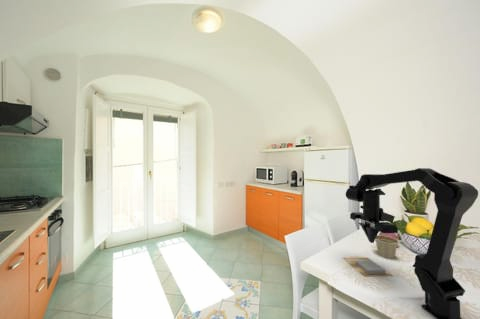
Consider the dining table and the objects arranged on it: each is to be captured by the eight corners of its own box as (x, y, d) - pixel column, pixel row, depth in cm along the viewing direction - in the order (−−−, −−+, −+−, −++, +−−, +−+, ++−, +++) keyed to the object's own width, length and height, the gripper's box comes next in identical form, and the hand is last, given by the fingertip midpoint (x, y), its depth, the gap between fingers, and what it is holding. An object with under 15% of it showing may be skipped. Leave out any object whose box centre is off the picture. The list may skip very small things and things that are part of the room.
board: (394, 278, 70) (394, 275, 70) (364, 279, 70) (364, 276, 70) (367, 259, 84) (367, 257, 84) (342, 260, 84) (342, 257, 84)
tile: (371, 264, 78) (385, 274, 71) (356, 264, 78) (368, 274, 71) (371, 260, 78) (385, 269, 71) (355, 260, 78) (368, 270, 71)
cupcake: (375, 243, 103) (375, 221, 103) (384, 240, 106) (384, 219, 106) (394, 249, 95) (393, 226, 95) (402, 246, 98) (402, 224, 99)
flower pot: (404, 263, 81) (404, 244, 82) (380, 261, 83) (380, 242, 83) (391, 253, 91) (391, 236, 91) (370, 251, 92) (370, 234, 93)
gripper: (412, 210, 66) (412, 253, 66) (372, 200, 85) (372, 233, 85) (382, 210, 66) (383, 253, 65) (349, 200, 84) (349, 234, 84)
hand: (371, 242), depth 75 cm, fingers closed
